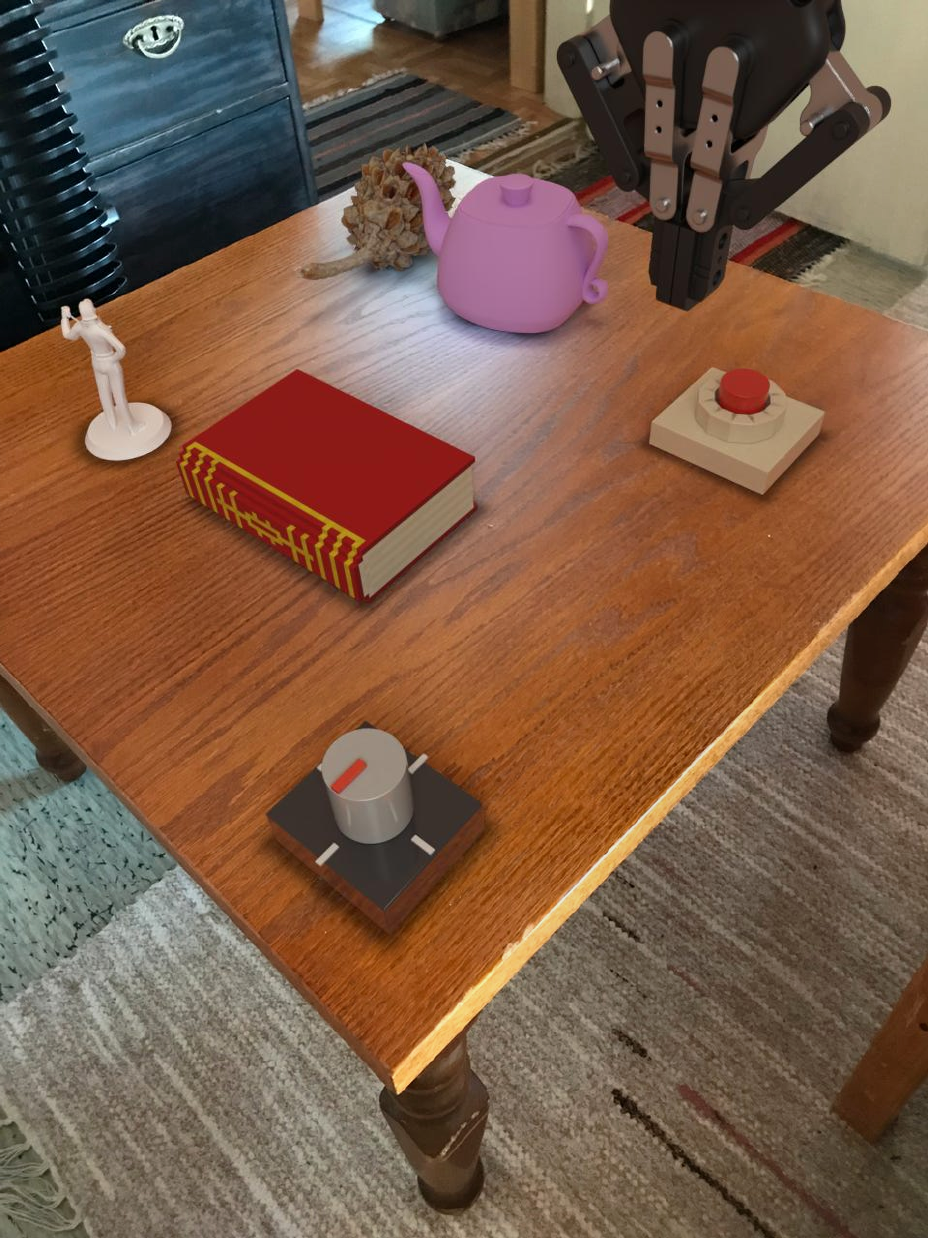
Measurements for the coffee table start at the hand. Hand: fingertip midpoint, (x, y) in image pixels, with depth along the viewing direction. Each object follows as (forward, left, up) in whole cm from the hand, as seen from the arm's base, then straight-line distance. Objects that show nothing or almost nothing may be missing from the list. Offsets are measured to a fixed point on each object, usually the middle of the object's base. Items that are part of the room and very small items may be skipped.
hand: (683, 298), depth 42 cm
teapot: (+34, -30, -27) cm, 53 cm away
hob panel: (+5, +18, -27) cm, 33 cm away
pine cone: (+47, -27, -27) cm, 61 cm away
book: (+27, 0, -27) cm, 38 cm away
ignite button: (+7, -25, -23) cm, 35 cm away
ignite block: (+7, -25, -27) cm, 37 cm away
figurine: (+47, +4, -27) cm, 54 cm away
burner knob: (+5, +18, -24) cm, 30 cm away
